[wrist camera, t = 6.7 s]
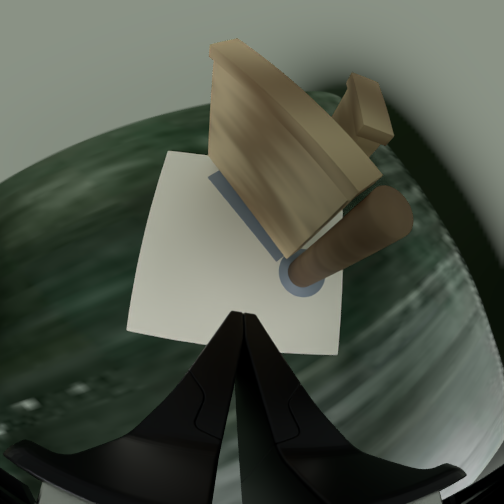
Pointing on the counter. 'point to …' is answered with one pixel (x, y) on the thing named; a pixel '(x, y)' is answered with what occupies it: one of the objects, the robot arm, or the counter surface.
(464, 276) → the counter surface
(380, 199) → the wooden plank
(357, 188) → the fence panel
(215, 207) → the card
